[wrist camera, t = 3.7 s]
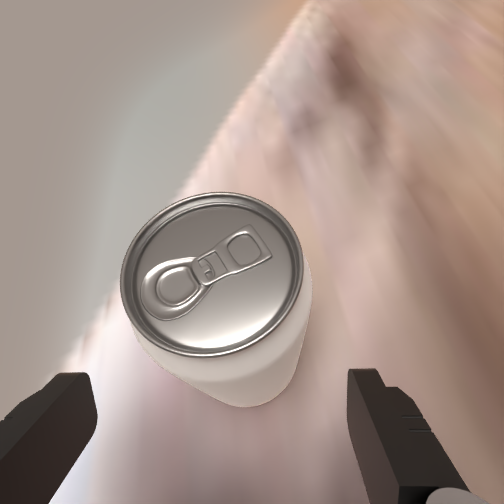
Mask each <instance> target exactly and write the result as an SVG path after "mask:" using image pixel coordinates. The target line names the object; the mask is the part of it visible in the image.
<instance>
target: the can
mask: <svg viewBox="0 0 504 504" xmlns="http://www.w3.org/2000/svg"><path fill="white" fill-rule="evenodd" d="M120 292H121V298H122V302H123V306H124V308H125V311H126V313H127V315H128V317H129V319H130V322H131V326H132V329H133V331H134V334H135V336H136V338H137V340H138V342H139V343H140V345H141V346H142V348H143V349H144V350H145V352H146V353H147V354H148V355H149V356H150V357H151V358H152V359H153V360H154V361H155V362H156V363H157V364H158V365H159V366H161V367H162V368H163V369H165V370H166V371H168V372H169V373H171V374H172V375H174V376H176V377H177V378H179V379H181V380H182V381H184V382H186V383H188V384H189V385H191V386H193V387H195V388H197V389H198V390H200V391H202V392H204V393H206V394H207V395H209V396H211V397H213V398H215V399H217V400H219V401H221V402H223V403H226V404H228V405H231V406H236V407H254V406H258V405H262V404H264V403H267V402H269V401H270V400H272V399H274V398H275V397H276V396H278V395H279V394H280V393H281V392H282V391H283V390H284V389H285V388H286V387H287V385H288V384H289V382H290V381H291V379H292V377H293V375H294V373H295V370H296V367H297V364H298V360H299V356H300V353H301V349H302V345H303V341H304V337H305V333H306V329H307V325H308V320H309V316H310V311H311V304H312V277H311V272H310V268H309V264H308V261H307V259H306V257H305V255H304V253H303V251H302V248H301V245H300V242H299V239H298V237H297V235H296V233H295V231H294V230H293V228H292V226H291V225H290V224H289V222H288V221H287V220H286V219H285V218H284V217H283V216H282V215H281V214H280V213H279V212H278V211H277V210H275V209H274V208H273V207H271V206H270V205H268V204H266V203H265V202H263V201H261V200H259V199H256V198H253V197H251V196H247V195H243V194H239V193H232V192H211V193H203V194H198V195H194V196H191V197H188V198H185V199H182V200H180V201H178V202H175V203H173V204H171V205H170V206H168V207H166V208H165V209H163V210H162V211H160V212H159V213H157V214H156V215H155V216H154V217H153V218H152V219H150V220H149V221H148V222H147V223H146V224H145V225H144V226H143V227H142V228H141V230H140V231H139V232H138V233H137V235H136V236H135V238H134V239H133V241H132V242H131V244H130V246H129V248H128V250H127V252H126V255H125V258H124V261H123V264H122V269H121V275H120Z"/></svg>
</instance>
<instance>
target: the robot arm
mask: <svg viewBox="0 0 504 504" xmlns="http://www.w3.org/2000/svg"><path fill="white" fill-rule="evenodd" d="M347 423H348V429H349V434H350V438H351V441H352V444H353V448H354V451H355V454H356V458H357V461H358V464H359V467H360V471H361V474H362V477H363V481H364V484H365V487H366V491H367V494H368V497H369V500H370V504H489V503H488V502H486V501H485V500H483V499H482V498H480V497H478V496H476V495H474V494H472V493H471V492H470V491H469V489H468V488H467V486H466V485H465V483H464V481H463V480H462V478H461V476H460V475H459V473H458V472H457V470H456V468H455V467H454V465H453V464H452V462H451V460H450V459H449V457H448V456H447V454H446V452H445V451H444V449H443V447H442V446H441V444H440V443H439V441H438V439H437V438H436V436H435V435H434V433H432V432H431V428H430V427H429V425H428V423H427V422H426V420H425V419H423V415H422V414H421V412H420V410H419V409H418V407H417V406H416V404H415V402H414V401H413V399H411V398H410V397H409V396H408V395H407V394H405V393H404V392H403V391H402V390H401V389H399V388H398V387H386V386H385V384H384V382H383V381H382V379H381V377H380V375H379V373H378V371H377V370H376V369H349V371H348V385H347ZM96 425H97V409H96V405H95V400H94V395H93V391H92V386H91V382H90V378H89V375H88V374H87V373H85V372H78V373H59V374H57V375H56V376H55V377H54V378H53V379H52V380H51V381H50V382H49V383H48V384H47V385H46V386H45V387H44V388H43V389H42V390H39V391H38V392H36V393H35V394H33V395H31V396H30V397H28V398H27V399H25V400H24V401H22V402H20V403H19V404H18V405H17V406H16V407H15V408H14V409H13V410H12V411H11V412H10V413H9V414H8V415H7V416H6V417H5V419H4V420H2V421H0V504H48V503H49V502H50V500H51V499H52V497H53V496H54V494H55V493H56V491H57V490H58V488H59V487H60V485H61V483H62V482H63V480H64V479H65V477H66V476H67V474H68V473H69V471H70V470H71V468H72V467H73V465H74V463H75V462H76V460H77V459H78V457H79V456H80V454H81V453H82V451H83V450H84V448H85V447H86V445H87V444H88V442H89V440H90V439H91V437H92V436H93V434H94V431H95V429H96Z"/></svg>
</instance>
